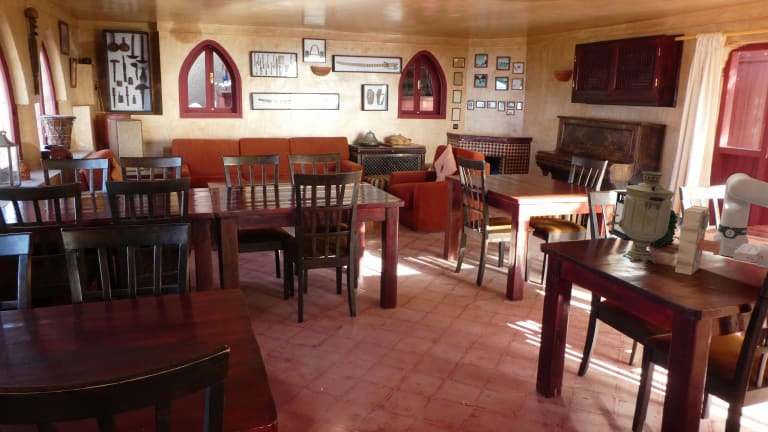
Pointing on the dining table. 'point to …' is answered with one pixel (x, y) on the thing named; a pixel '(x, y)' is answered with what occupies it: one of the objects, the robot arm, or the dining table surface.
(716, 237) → the robot arm
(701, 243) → the terracotta plug
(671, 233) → the toy figurine
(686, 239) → the block
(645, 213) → the samovar
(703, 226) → the charcoal plug
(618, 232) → the lantern
